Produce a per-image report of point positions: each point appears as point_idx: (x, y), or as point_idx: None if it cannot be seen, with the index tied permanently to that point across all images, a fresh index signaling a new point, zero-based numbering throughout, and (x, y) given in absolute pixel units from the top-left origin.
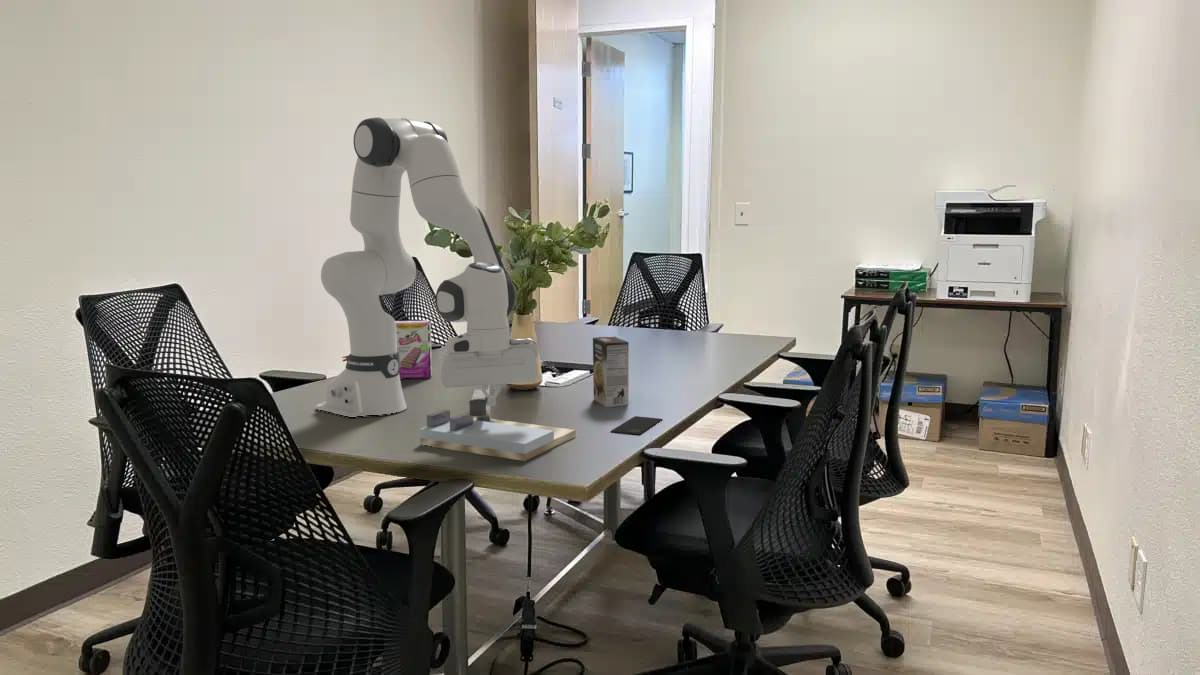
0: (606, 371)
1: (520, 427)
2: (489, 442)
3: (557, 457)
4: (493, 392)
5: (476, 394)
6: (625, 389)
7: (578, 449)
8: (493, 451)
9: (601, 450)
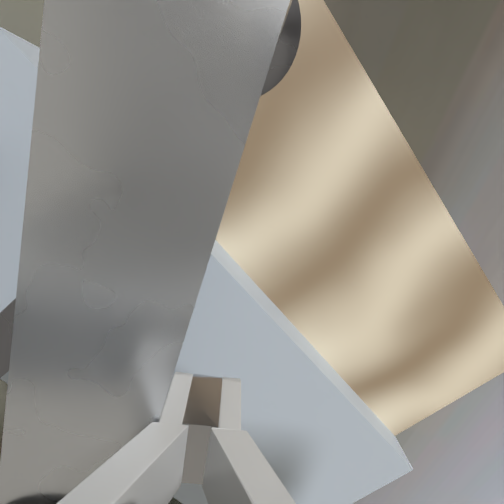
0: None
1: (321, 396)
2: None
3: None
4: (228, 464)
5: (60, 305)
6: None
7: (431, 450)
8: None
9: (476, 473)
